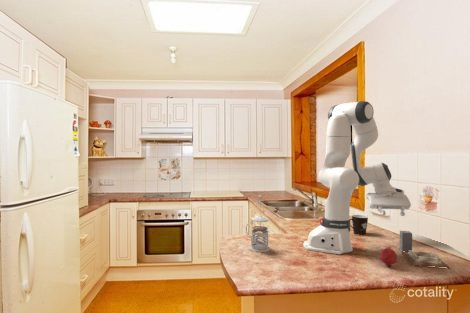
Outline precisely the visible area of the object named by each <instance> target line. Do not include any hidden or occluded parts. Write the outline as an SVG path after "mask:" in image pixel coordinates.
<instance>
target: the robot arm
mask: <svg viewBox="0 0 470 313" xmlns="http://www.w3.org/2000/svg"><path fill="white" fill-rule="evenodd" d="M327 118H328V122H327V126H326V127H327V128H326V136H325V137H326V141H325V156H324V159H323V164H322V167H321V169H320V170H319V172H318V174H317V175H318V181H319V182H320V184H322V186H325V187H326V188H329V192H328V197H327V198H326V199H325V201H324V217H323V216H320V217H319V218H318V220H319V222H320V225H318V226H316V227H315V228H314V229H312V230H311V231H310V232H309V234H308V236H307V239H306V240H304V241H303V248H304V249H305V250H307V251H314V252H321V253H327V254H332V255H333V254H335V255H343V254H346V253H351V252H353V249H354V248H353V247H352V246H353V245H352V241H351V233H350V232H351V227H350V225H351V220H350V219H351V218H350V207H351V204H350V203H351V199H352V196H353V192H354V191H355V189H356V188H357V187H358V186H360V187H364V186H367V185H370V184H372V186H373V187H374V192H368V193H367V194H366V199H367V203H368V207H369V208H370V209H372V210H373V209H374V210H375V209H377V211H378V212H379V213H380V214H381V216H386V214H387V213H386V210H400V213H399V215H400V217H401V216H402V217H405V215H406V213H405V211H406V210H409V209H410V208H411V206H412V203H411V201H410V199H409V197H408V196H407V195H406V194H405V190H403V189H401V188H396V187H395V186H392V185H391V184H390V183H391V182H390V180H391V179H392V172H391V170H390V169H389V166H388V164H386V163H384V162H377V163H374V164H371V165H367V166H364V167H363V166H362V165H361V154H362V153H363V152H364V151H365V150H367V149H368V148H370V147H371V146H373V145H374V144H375V143H376V141H378V138H379V131H378V126H377V123H376V121H375V118H374V106H373V105H372V103H370V102H368V101H366V100H365V101H364V100H362V101H361V100H360V101H354V102H353V101H352V102H349V101H348V102H345V103H341V104H335V105H333V106H331V107H330V109H329V110H328V113H327ZM351 126H352V129H351ZM351 130H353V133H354V139H353V140H352V141H351V139H352V131H351ZM350 155H351V160H352V163H351V164H352V168H350V167H347V166H346V162H347V159H348V158H349V157H350Z"/></svg>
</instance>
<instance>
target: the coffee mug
mask: <svg viewBox="0 0 470 313" xmlns="http://www.w3.org/2000/svg"><path fill="white" fill-rule="evenodd" d="M349 219H350V221H352V223H351V224H352V225H351V224H350V228H352V231H353V234H354V235H356V234H359V235H358V236H365V235H364V234H366V235H367V228H368V227H367V226H368V220H369V216H368V215H362V214H352V215H351V218H349Z"/></svg>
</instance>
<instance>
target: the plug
mask: <svg viewBox="0 0 470 313" xmlns="http://www.w3.org/2000/svg"><path fill="white" fill-rule="evenodd" d="M400 249H401V250H402V251H405V252H404V253H406V252H409V250H413V232H412V231H410V230H399V250H400ZM401 250H400V251H401ZM402 251H401V252H402Z"/></svg>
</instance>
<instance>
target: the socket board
mask: <svg viewBox="0 0 470 313" xmlns="http://www.w3.org/2000/svg"><path fill="white" fill-rule="evenodd" d="M402 255H403V256H404V257H405V258H406V259H407V260H408V261H409V262H410V263H411V264H412V265H421V266H420V267H423V266H435V267H447V268H449V269H450V266H449V265H448V264H447V263H445V262H444V261H443V260H442V259H441V258H440V257H439V256H438V255H436V254H435V253H434V252H432V251H423V250H413V249H412V250H409V253H406V252H401V256H402ZM403 256H402V257H403ZM404 257H403V258H404ZM405 258H404V259H405ZM406 259H405V260H406ZM407 260H406V261H407ZM408 261H407V262H408ZM409 262H408V263H409ZM410 263H409V264H410ZM411 264H410V265H411ZM412 265H411V266H412Z"/></svg>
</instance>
